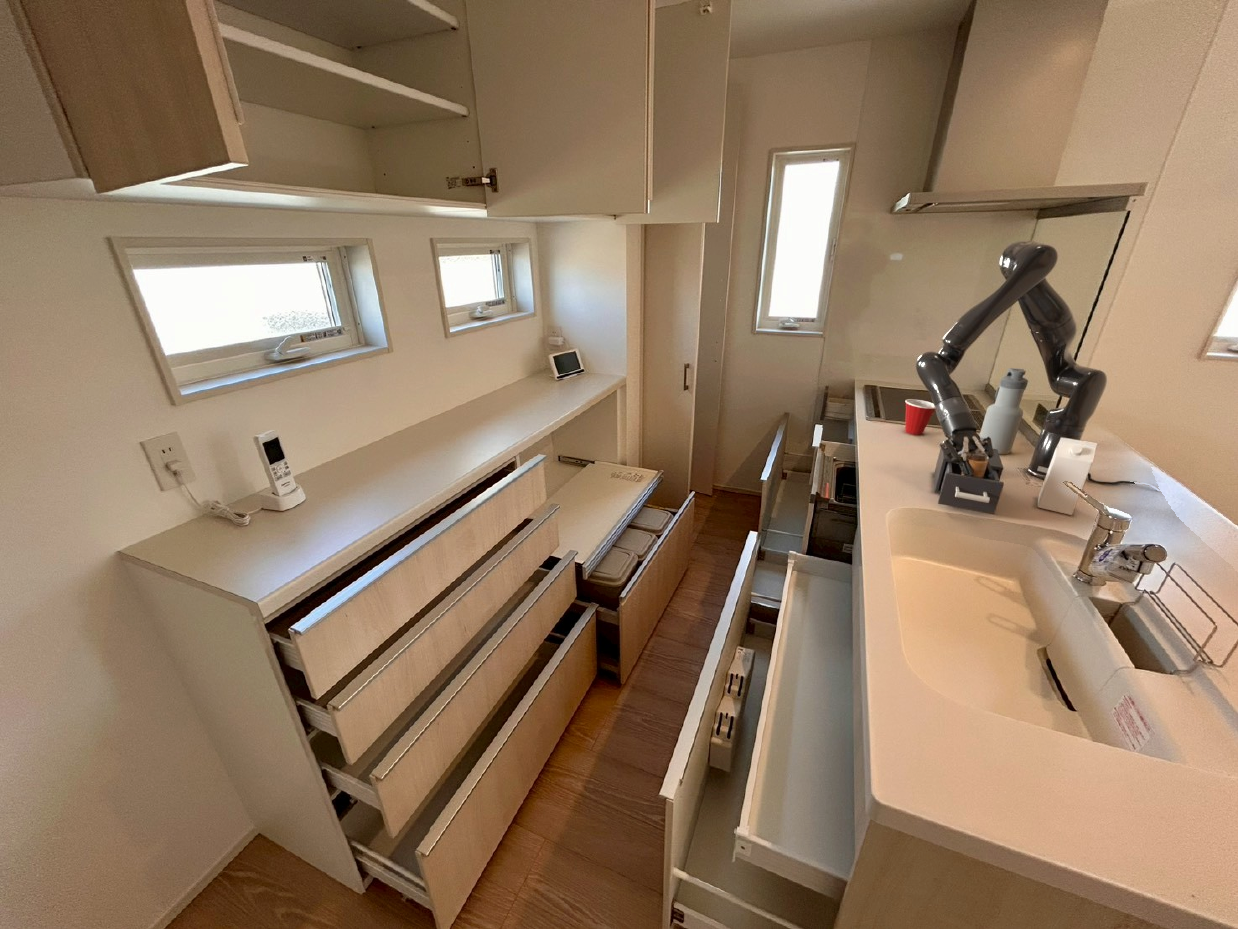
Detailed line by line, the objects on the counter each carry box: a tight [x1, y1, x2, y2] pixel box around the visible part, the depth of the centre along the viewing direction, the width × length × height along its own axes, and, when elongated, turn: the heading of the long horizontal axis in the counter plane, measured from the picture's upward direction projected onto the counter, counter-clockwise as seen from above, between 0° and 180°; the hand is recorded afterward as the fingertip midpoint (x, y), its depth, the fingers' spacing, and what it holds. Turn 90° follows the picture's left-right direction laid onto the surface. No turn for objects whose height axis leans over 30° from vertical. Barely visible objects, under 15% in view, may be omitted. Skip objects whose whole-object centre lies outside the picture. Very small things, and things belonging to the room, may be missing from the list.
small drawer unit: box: [933, 447, 1004, 495], centre depth 143 cm, size 16×14×11 cm
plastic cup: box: [904, 398, 936, 436], centre depth 187 cm, size 11×11×12 cm
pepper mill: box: [961, 451, 988, 478], centre depth 131 cm, size 5×5×10 cm
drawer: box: [937, 462, 1005, 515], centre depth 133 cm, size 20×12×9 cm, turn 150°
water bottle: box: [978, 367, 1029, 455], centre depth 167 cm, size 10×10×28 cm
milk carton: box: [1037, 437, 1098, 516], centre depth 130 cm, size 7×7×19 cm
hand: (978, 475), depth 129 cm, fingers closed on pepper mill, 4 cm apart
